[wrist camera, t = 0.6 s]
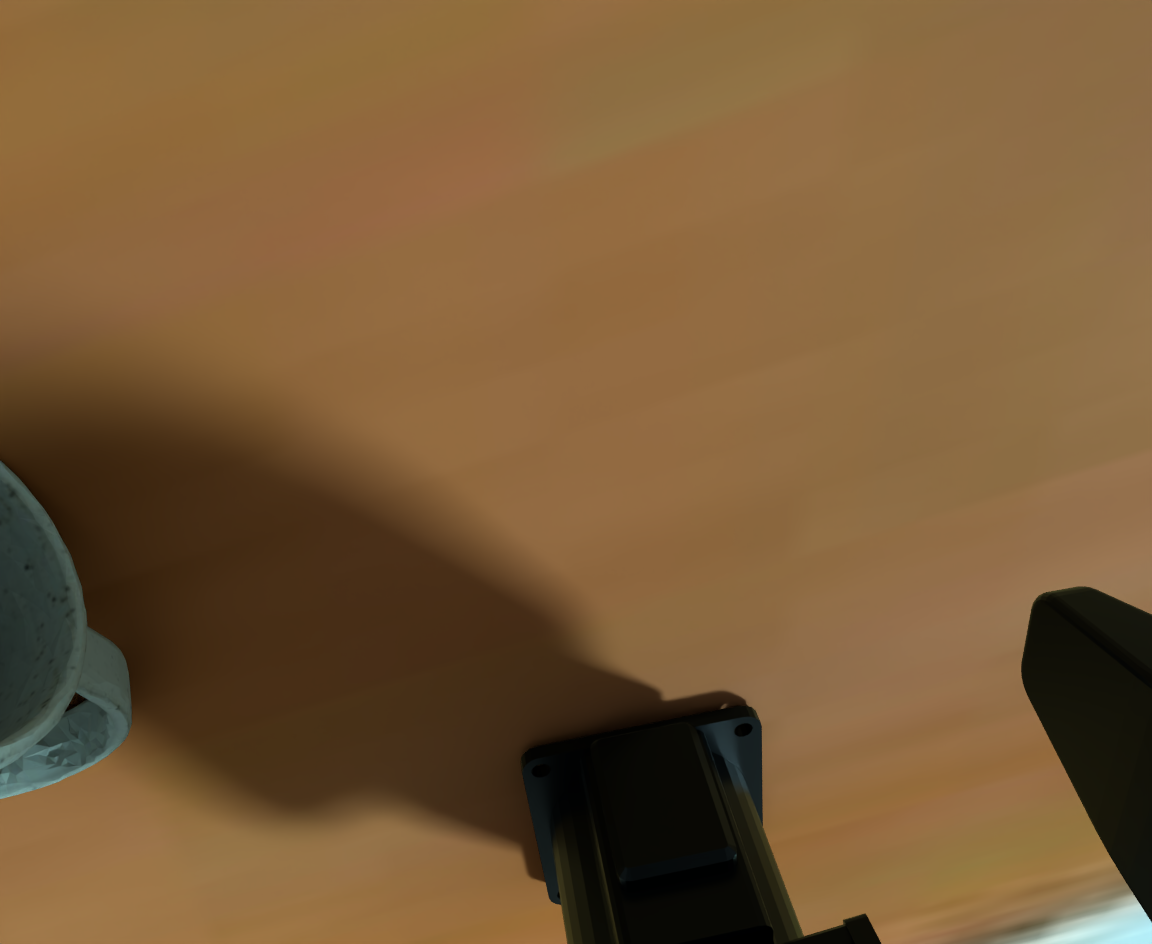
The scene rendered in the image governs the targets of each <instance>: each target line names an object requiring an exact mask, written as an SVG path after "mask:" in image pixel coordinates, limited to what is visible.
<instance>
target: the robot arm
mask: <svg viewBox="0 0 1152 944" xmlns="http://www.w3.org/2000/svg"><path fill="white" fill-rule="evenodd" d="M1021 673H1022V680H1023V684H1024V688H1025V691H1026V693H1027V695H1028V697H1029V699H1030V701H1031V703H1032V705H1033V707H1034V709H1035V711H1036V713H1037V715H1038V717H1039V719H1040V721H1041V723H1042V725H1043V727H1044V729H1045V731H1046V733H1047V735H1048V737H1049V739H1050V741H1051V743H1052V745H1053V747H1054V749H1055V751H1056V753H1057V755H1058V757H1059V759H1060V761H1061V763H1062V765H1063V766H1064V768H1065V770H1066V772H1067V774H1068V776H1069V778H1070V780H1071V782H1072V784H1073V786H1074V788H1075V790H1076V792H1077V794H1078V796H1079V798H1080V800H1081V802H1082V804H1083V806H1084V808H1085V810H1086V812H1087V814H1088V816H1089V818H1090V820H1091V822H1092V824H1093V826H1094V828H1095V829H1096V831H1097V833H1098V835H1099V837H1100V839H1101V840H1102V842H1103V844H1104V846H1105V848H1106V850H1107V852H1108V853H1109V855H1110V857H1111V858H1112V860H1113V862H1114V863H1115V865H1116V867H1117V868H1118V870H1119V871H1120V873H1121V875H1122V876H1123V878H1124V880H1125V881H1126V883H1127V884H1128V886H1129V888H1130V889H1131V891H1132V892H1133V894H1134V895H1135V897H1136V898H1137V900H1138V902H1139V903H1140V905H1141V906H1142V908H1143V909H1144V911H1145V912H1146V914H1147V916H1148V917H1149V919H1150V920H1151V922H1152V614H1149V613H1147V612H1145V611H1143V610H1141V609H1138V608H1136V607H1134V606H1132V605H1129V604H1127V603H1125V602H1123V601H1121V600H1118V599H1116V598H1114V597H1112V596H1109V595H1107V594H1105V593H1103V592H1101V591H1098V590H1096V589H1093V588H1090V587H1073V588H1068V589H1062V590H1056V591H1051V592H1046V593H1043V594H1041V595H1039V596H1038V597H1037V598H1036V600H1035V601H1034V603H1033V606H1032V609H1031V614H1030V620H1029V625H1028V631H1027V636H1026V641H1025V647H1024V652H1023V658H1022V664H1021ZM743 723H744V724H743ZM740 724H742V725H740ZM539 764H543V765H541V766H537V765H539ZM521 768H522V775H523V779H524V784H525V789H526V793H527V798H528V803H529V807H530V812H531V817H532V821H533V826H534V830H535V835H536V840H537V844H538V849H539V854H540V858H541V863H542V868H543V872H544V877H545V881H546V886H547V891H548V895H549V899H550V900H551V901H552V902H553V903H555V904H560V905H561V906H562V913H563V919H564V925H565V932H566V938H567V944H881V942H880V940H879V938H878V936H877V934H876V932H875V931H874V929H873V927H872V925H871V923H870V921H869V919H868V917H867V915H866V914H861V915H858V916H855V917H852V918H848V919H845V920H843V925H840V926H837V927H833V928H830V929H827V930H824V931H820V932H817V933H814V934H810V935H807V936H804V935H803V933H802V930H801V927H800V925H799V922H798V919H797V917H796V914H795V911H794V909H793V906H792V903H791V901H790V898H789V895H788V893H787V890H786V887H785V885H784V882H783V879H782V877H781V874H780V871H779V869H778V866H777V863H776V861H775V858H774V855H773V853H772V850H771V847H770V845H769V842H768V839H767V837H766V834H765V832H764V829H763V813H762V726H761V723H760V720H759V718H758V715H757V713H756V711H755V710H754V709H753V708H752V707H749V706H736V707H731V708H726V709H721V710H716V711H711V712H706V713H701V714H696V715H691V716H686V717H681V718H676V719H671V720H666V721H661V722H656V723H651V724H646V725H641V726H636V727H631V728H626V729H621V730H616V731H611V732H606V733H601V734H596V735H591V736H586V737H581V738H576V739H571V740H566V741H561V742H556V743H551V744H546V745H541V746H537V747H534V748H531V749H529V750H528V751H526V752H525V753H524V754H523V756H522V757H521Z"/></svg>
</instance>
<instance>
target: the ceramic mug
mask: <svg viewBox="0 0 1152 944" xmlns="http://www.w3.org/2000/svg"><path fill="white" fill-rule="evenodd" d="M75 692H76V693H78V694H79V695H81V696H82V697H84V698H86V699H88V700H86V701H84V702H83V703H81V704H79V705H77V706H76V707H74V708H72V709H71V710H69V711H67V712H65V710H66V709H67V707H68V705H69V703H70V702H71V700H72V698H73V696H74V694H75ZM131 724H132V706H131V693H130V679H129V672H128V668H127V663H126V660H125V658H124V656H123V654H122V652H121V650H120V649H119V648H118V647H117V646H116V645H115V644H114V643H113V642H112V641H110V640H109V639H107V638H106V637H104V636H103V635H101V634H99V633H98V632H96V631H94V630H93V629H91V628H90V627H88V626H87V615H86V609H85V606H84V599H83V592H82V586H81V583H80V581H79V578H78V575H77V572H76V569H75V566H74V563H73V560H72V557H71V554H70V553H69V551H68V549H67V547H66V545H65V543H64V542H63V540H62V538H61V536H60V534H59V532H58V530H57V529H56V527H55V525H54V523H53V521H52V520H51V518H50V517H49V515H48V514H47V512H46V511H45V509H44V508H43V507H42V505H41V504H40V503H39V502H38V501H37V499H36V498H35V497H34V496H33V494H32V493H31V492H30V491H29V490H28V488H27V487H26V486H25V485H24V484H23V482H22V481H21V480H20V479H19V478H18V477H17V476H16V475H15V474H14V473H13V472H12V471H11V470H10V469H9V468H8V467H7V466H6V465H5V464H4V463H3V462H2V461H0V799H1V798H6V797H10V796H14V795H18V794H21V793H25V792H28V791H32V790H35V789H39V788H42V787H45V786H48V785H51V784H54V783H57V782H59V781H61V780H62V779H64V778H66V777H69V776H71V775H74V774H76V773H78V772H80V771H82V770H84V769H86V768H88V767H90V766H92V765H94V764H96V763H97V762H99V761H100V760H102V759H103V758H105V757H107V756H108V755H109V754H110V753H112V752H113V751H114V750H115V749H116V748H118V747H119V746H120V744H121V743H122V742H123V741H124V740H125V739H126V737H127V736H128V733H129V730H130V727H131Z"/></svg>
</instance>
